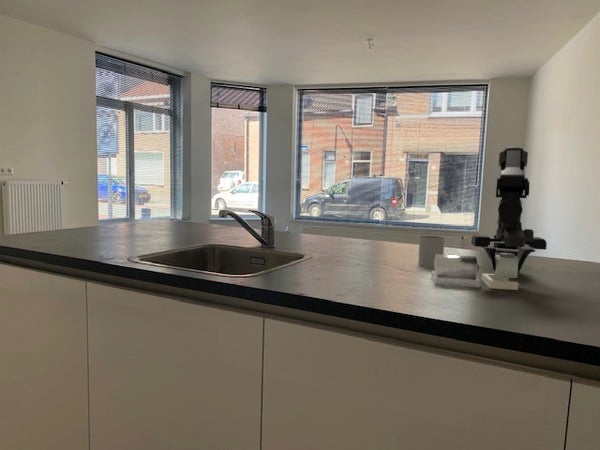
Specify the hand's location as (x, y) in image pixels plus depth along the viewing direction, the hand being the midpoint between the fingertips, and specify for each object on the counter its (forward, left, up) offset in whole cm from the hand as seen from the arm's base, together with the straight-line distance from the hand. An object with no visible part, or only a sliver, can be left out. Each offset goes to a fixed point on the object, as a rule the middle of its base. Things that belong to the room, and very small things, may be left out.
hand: (505, 271), depth 121 cm
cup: (-18, +26, -4) cm, 32 cm away
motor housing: (-14, 0, -4) cm, 15 cm away
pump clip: (-2, 0, -4) cm, 4 cm away
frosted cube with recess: (0, 0, -1) cm, 1 cm away
